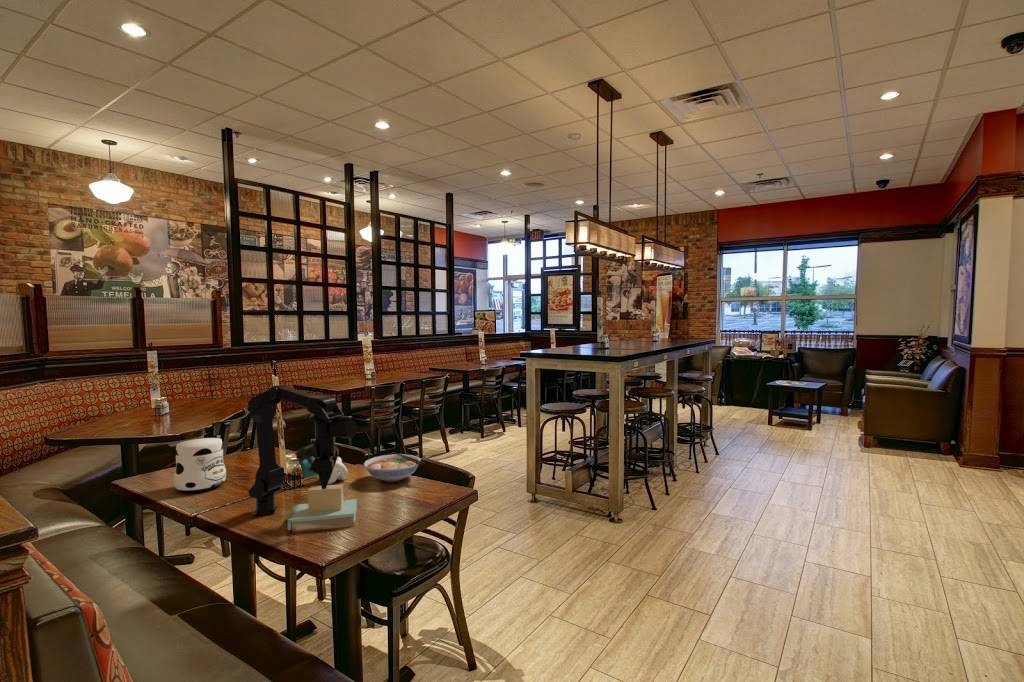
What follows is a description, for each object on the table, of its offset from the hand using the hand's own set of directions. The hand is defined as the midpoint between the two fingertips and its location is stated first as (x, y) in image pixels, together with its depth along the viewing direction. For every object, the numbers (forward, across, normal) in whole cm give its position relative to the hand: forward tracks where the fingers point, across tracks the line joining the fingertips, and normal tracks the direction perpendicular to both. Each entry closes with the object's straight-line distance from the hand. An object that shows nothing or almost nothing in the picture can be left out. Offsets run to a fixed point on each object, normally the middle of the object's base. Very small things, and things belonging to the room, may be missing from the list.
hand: (325, 484), depth 156 cm
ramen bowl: (+12, -39, +21) cm, 46 cm away
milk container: (+12, -48, -52) cm, 72 cm away
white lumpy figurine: (+12, -44, -3) cm, 45 cm away
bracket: (+12, -58, -19) cm, 62 cm away
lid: (+11, 0, -1) cm, 11 cm away
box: (+12, 0, 0) cm, 12 cm away
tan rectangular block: (+8, 0, 0) cm, 8 cm away
